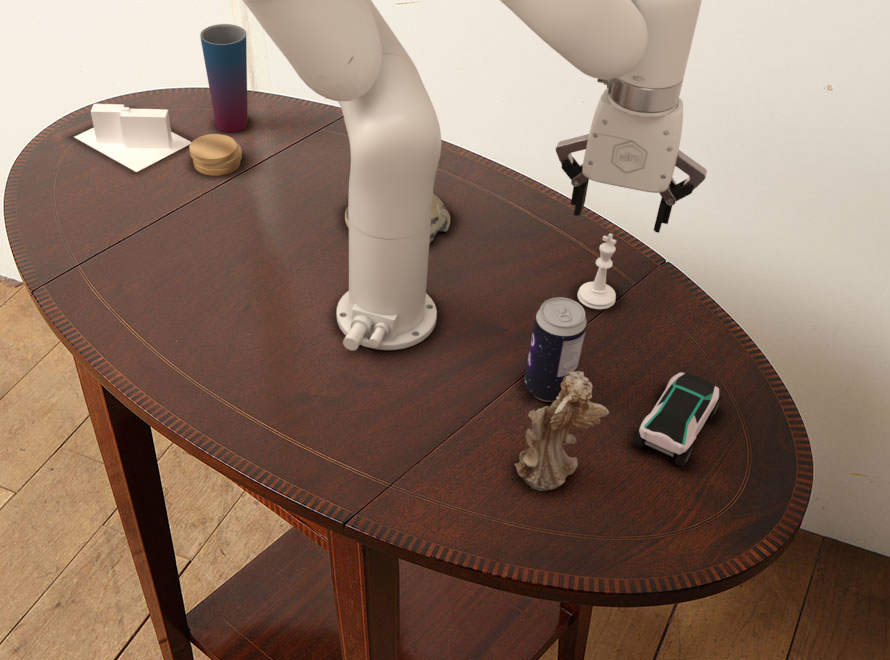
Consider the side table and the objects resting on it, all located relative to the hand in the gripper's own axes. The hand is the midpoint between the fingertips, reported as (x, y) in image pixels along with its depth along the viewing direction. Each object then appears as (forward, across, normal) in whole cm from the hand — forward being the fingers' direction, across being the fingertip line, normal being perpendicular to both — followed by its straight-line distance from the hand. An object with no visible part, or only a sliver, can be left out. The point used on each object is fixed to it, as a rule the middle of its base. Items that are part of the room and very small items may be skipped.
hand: (618, 217), depth 120 cm
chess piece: (+13, -1, 0) cm, 13 cm away
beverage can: (+12, -3, -19) cm, 23 cm away
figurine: (+12, 0, -32) cm, 35 cm away
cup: (+12, -64, +21) cm, 68 cm away
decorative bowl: (+12, -31, +7) cm, 34 cm away
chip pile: (+11, -61, +10) cm, 62 cm away
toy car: (+13, +12, -20) cm, 27 cm away
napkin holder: (+11, -76, +11) cm, 77 cm away
